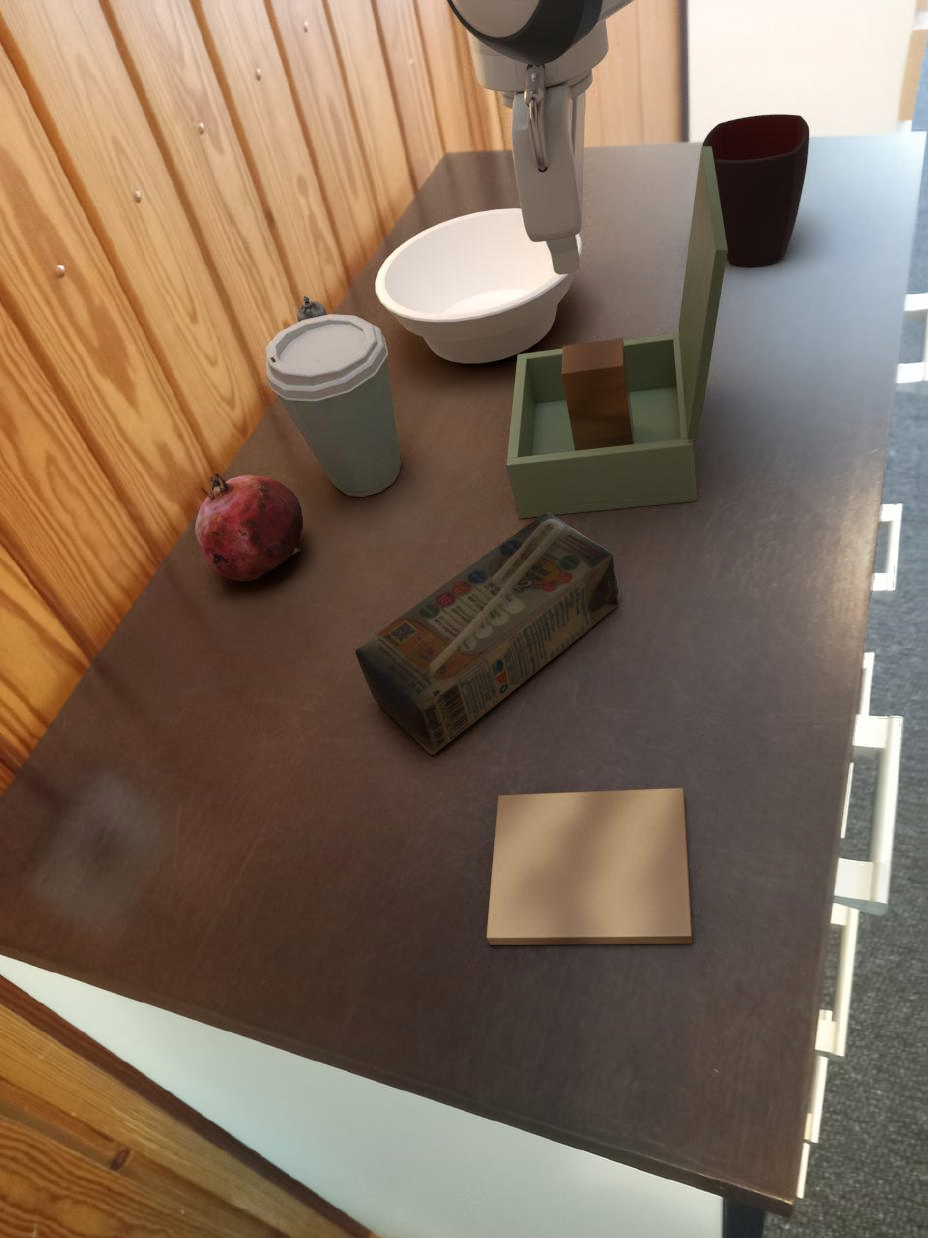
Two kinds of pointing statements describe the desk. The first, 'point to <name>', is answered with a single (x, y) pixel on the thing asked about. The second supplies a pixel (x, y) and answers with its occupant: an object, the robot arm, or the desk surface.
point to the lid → (701, 290)
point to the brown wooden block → (598, 394)
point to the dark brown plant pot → (759, 183)
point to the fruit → (248, 526)
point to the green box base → (611, 474)
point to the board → (590, 869)
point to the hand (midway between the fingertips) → (569, 236)
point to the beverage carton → (488, 630)
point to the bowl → (474, 286)
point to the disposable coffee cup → (339, 398)
